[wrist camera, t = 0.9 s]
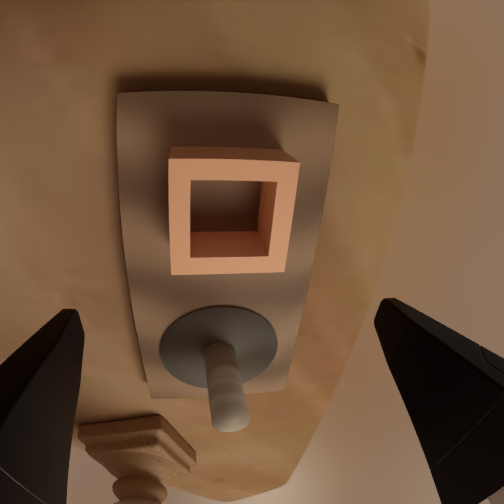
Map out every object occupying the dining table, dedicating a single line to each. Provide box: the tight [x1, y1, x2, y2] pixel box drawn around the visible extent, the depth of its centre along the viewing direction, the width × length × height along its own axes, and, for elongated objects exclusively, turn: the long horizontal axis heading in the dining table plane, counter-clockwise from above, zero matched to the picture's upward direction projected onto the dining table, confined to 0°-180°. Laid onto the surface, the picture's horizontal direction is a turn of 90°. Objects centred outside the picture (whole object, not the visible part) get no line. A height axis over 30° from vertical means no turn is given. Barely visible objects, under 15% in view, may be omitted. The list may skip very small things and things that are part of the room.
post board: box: [117, 91, 339, 432], centre depth 19 cm, size 24×12×8 cm, turn 175°
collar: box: [168, 146, 300, 275], centre depth 17 cm, size 6×6×3 cm
